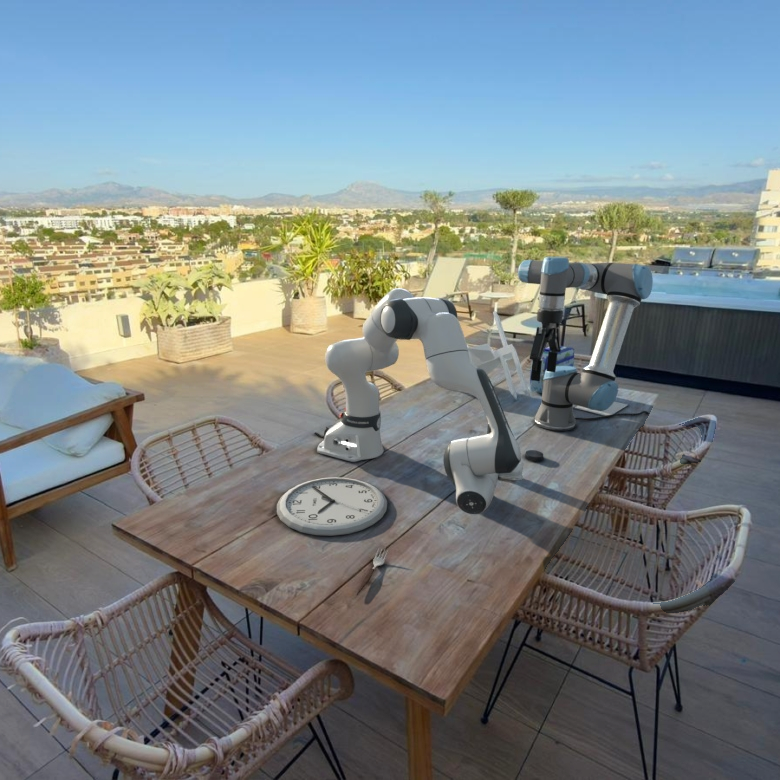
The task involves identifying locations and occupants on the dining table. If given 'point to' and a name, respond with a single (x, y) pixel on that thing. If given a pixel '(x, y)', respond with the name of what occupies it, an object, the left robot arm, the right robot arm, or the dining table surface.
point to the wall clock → (331, 506)
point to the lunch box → (562, 360)
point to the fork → (376, 562)
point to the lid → (534, 455)
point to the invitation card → (611, 410)
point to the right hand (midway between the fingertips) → (543, 375)
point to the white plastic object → (498, 358)
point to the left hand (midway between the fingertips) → (488, 454)
